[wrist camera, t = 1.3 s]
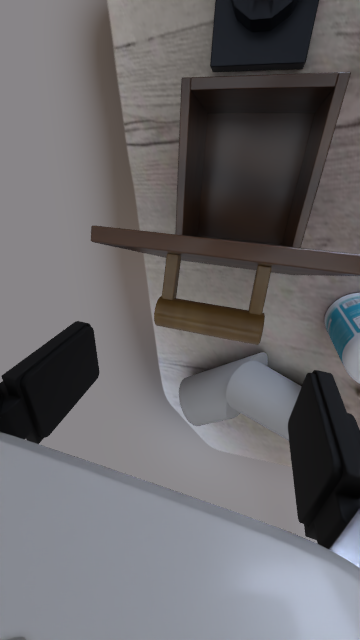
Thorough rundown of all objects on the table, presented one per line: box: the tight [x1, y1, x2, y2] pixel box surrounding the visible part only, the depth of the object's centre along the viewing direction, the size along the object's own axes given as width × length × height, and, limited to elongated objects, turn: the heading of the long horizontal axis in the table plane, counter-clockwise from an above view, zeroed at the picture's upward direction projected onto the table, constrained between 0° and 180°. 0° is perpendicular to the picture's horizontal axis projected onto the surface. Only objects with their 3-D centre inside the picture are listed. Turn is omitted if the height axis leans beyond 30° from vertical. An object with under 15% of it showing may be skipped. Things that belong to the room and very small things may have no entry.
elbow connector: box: [179, 352, 302, 441], centre depth 40 cm, size 18×10×20 cm
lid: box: [91, 226, 360, 345], centre depth 19 cm, size 15×13×5 cm
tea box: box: [176, 72, 351, 248], centre depth 26 cm, size 15×13×9 cm
